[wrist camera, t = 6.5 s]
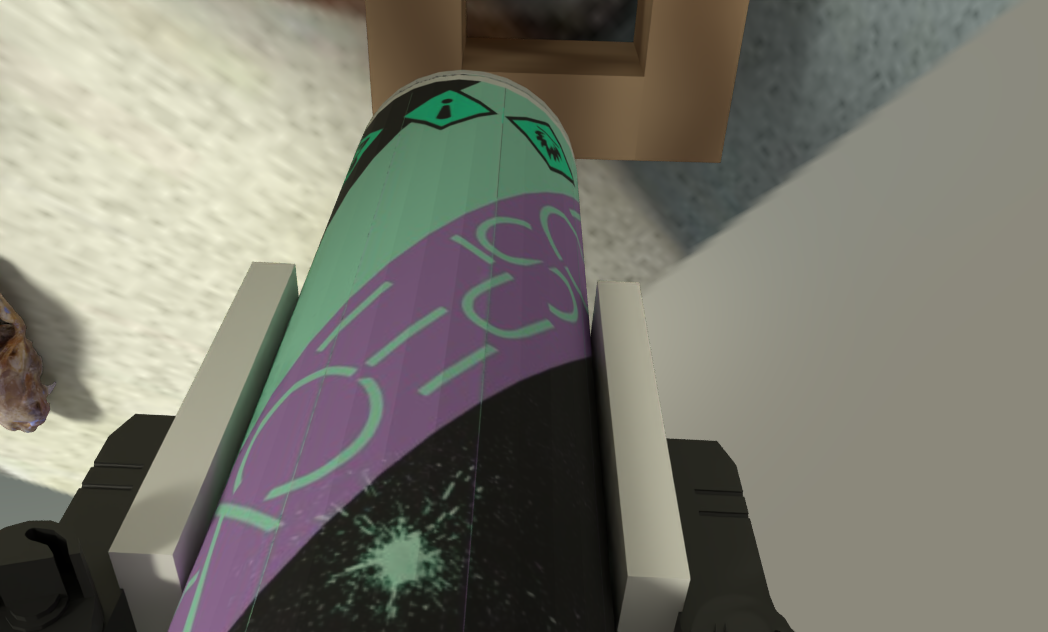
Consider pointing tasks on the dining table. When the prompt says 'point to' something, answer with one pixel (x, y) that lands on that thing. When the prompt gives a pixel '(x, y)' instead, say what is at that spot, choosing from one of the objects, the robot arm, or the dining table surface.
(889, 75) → the dining table surface
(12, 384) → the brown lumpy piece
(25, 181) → the dining table surface
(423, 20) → the hole block
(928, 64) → the dining table surface
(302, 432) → the spray can
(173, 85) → the dining table surface
